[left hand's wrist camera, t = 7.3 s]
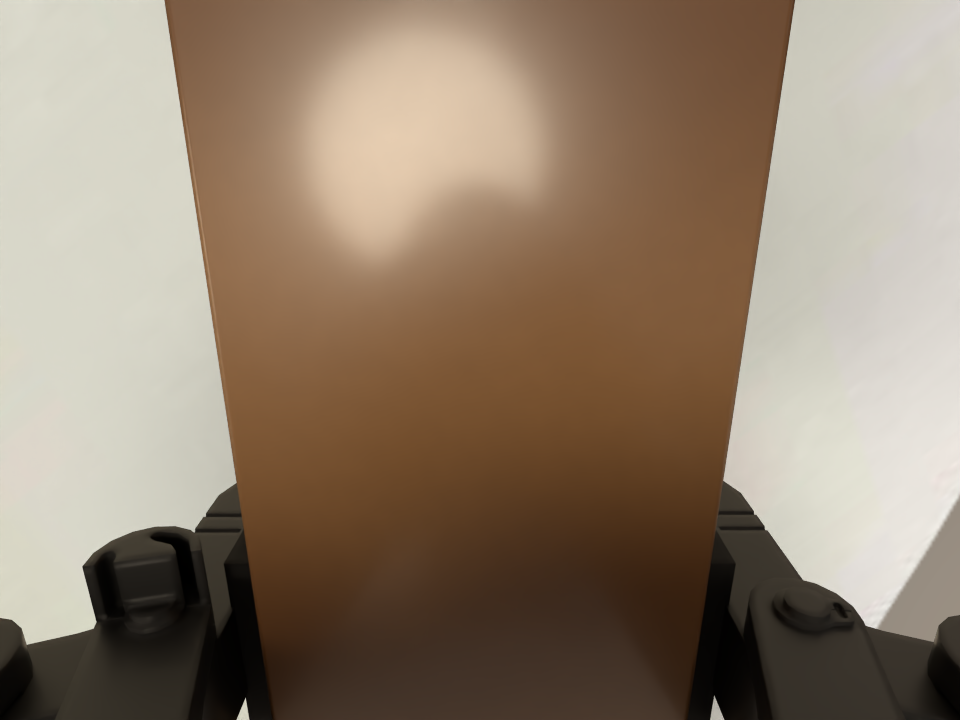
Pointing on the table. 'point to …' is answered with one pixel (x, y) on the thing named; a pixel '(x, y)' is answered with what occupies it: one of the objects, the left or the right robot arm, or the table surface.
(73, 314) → the table surface
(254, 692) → the left robot arm
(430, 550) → the bar
